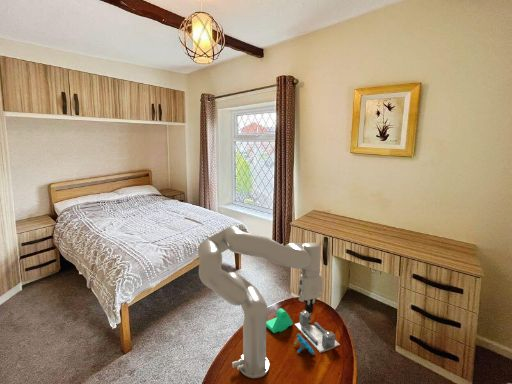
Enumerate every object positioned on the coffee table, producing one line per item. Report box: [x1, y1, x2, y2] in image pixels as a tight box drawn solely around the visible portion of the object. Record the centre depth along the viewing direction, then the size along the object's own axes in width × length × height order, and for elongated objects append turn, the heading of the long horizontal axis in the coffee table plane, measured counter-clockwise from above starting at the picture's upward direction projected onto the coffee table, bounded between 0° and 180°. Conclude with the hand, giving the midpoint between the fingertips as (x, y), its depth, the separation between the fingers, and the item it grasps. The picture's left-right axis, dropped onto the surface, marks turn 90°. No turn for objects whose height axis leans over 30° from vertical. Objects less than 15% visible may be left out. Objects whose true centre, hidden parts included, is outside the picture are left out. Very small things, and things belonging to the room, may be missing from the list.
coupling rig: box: [294, 309, 340, 354], centre depth 128 cm, size 11×21×7 cm, turn 24°
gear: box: [293, 333, 315, 355], centre depth 117 cm, size 11×6×10 cm
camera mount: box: [266, 308, 294, 334], centre depth 135 cm, size 12×8×10 cm, turn 124°
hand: (309, 311), depth 116 cm, fingers closed
